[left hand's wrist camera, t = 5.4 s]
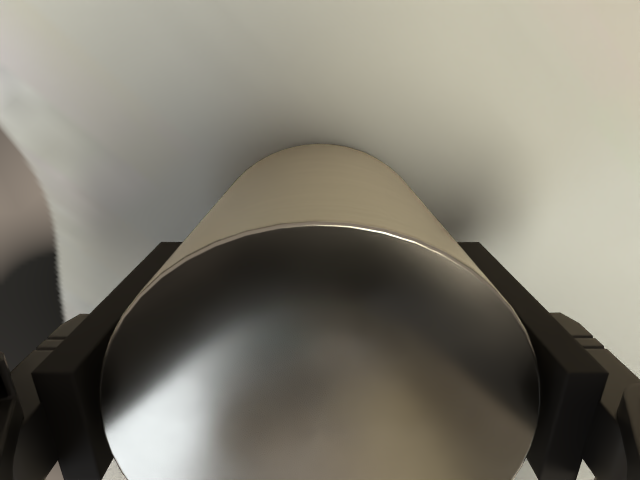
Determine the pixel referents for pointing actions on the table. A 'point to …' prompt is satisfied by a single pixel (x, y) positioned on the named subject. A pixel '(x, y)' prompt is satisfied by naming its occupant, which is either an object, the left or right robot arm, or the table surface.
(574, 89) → the table surface
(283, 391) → the canister
